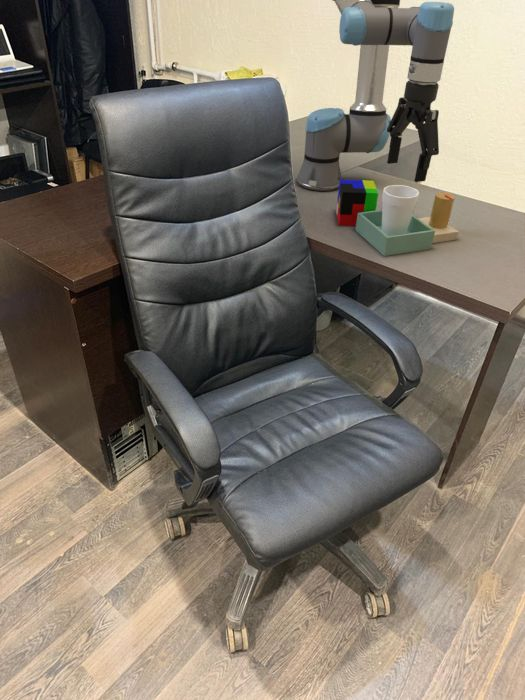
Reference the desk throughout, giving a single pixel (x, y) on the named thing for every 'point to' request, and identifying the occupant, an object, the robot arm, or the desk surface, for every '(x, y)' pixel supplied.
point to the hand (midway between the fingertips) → (405, 171)
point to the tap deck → (442, 232)
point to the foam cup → (398, 208)
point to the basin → (413, 240)
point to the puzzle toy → (355, 200)
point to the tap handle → (441, 210)
